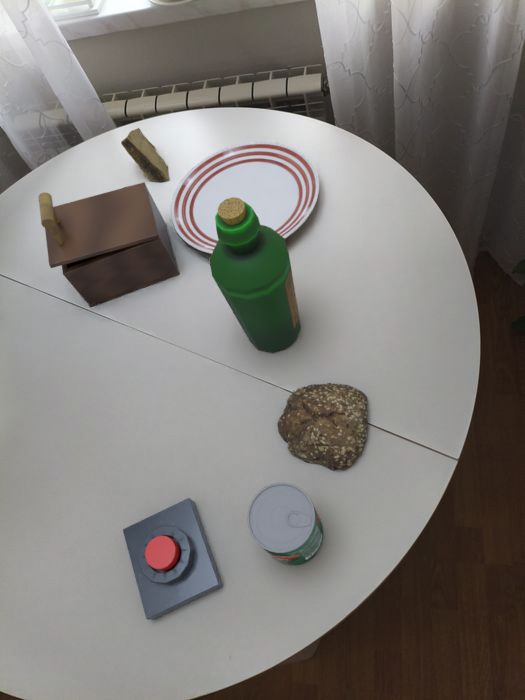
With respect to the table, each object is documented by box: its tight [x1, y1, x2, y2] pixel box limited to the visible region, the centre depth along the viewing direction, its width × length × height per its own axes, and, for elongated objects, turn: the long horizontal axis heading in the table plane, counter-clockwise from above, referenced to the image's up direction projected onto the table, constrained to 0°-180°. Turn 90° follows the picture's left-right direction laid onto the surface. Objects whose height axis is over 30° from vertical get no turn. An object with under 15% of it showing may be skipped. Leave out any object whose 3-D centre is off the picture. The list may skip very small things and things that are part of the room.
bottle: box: [208, 197, 301, 353], centre depth 76 cm, size 11×11×28 cm
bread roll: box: [276, 382, 369, 471], centre depth 77 cm, size 13×12×5 cm
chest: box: [61, 186, 180, 308], centre depth 97 cm, size 17×13×10 cm
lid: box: [37, 182, 159, 269], centre depth 89 cm, size 18×13×7 cm
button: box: [145, 536, 180, 571], centre depth 70 cm, size 4×4×2 cm
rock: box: [120, 127, 171, 183], centre depth 110 cm, size 11×9×10 cm
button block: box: [122, 497, 224, 621], centre depth 72 cm, size 12×10×4 cm
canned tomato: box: [246, 482, 325, 567], centre depth 68 cm, size 8×8×11 cm
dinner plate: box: [170, 141, 320, 255], centre depth 101 cm, size 27×27×3 cm
